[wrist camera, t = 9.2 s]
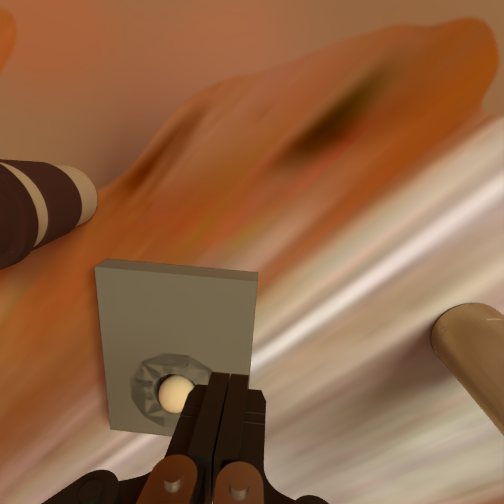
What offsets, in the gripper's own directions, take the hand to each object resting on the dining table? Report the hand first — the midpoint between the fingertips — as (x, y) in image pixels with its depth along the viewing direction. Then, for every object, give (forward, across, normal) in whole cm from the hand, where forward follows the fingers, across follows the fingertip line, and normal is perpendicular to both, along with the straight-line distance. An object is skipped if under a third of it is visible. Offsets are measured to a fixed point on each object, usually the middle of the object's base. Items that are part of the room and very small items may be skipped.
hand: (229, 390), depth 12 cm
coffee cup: (+27, +24, -3) cm, 36 cm away
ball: (+24, +10, +24) cm, 35 cm away
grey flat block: (+27, +10, +18) cm, 34 cm away
